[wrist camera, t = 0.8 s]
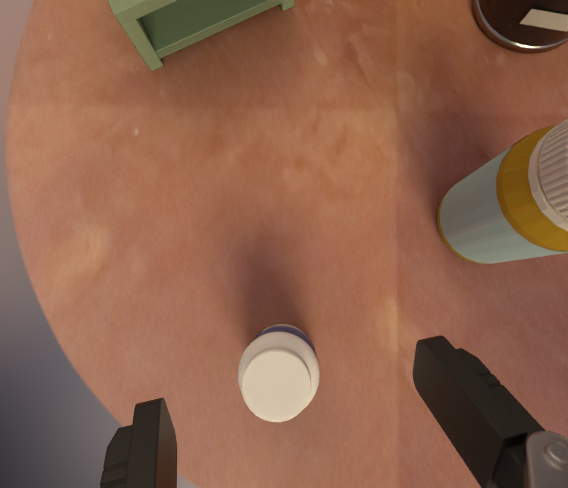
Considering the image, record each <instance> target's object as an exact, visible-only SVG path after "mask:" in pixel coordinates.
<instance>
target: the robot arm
mask: <svg viewBox="0 0 568 488" xmlns="http://www.w3.org/2000/svg"><path fill="white" fill-rule="evenodd" d="M472 4H473V11H474V15H475V18H476V20H477V22H478V24H479V26H480V27H481V29H482V30H483V31H484V33H485V34H486V35H487V36H488V37H489V38H490V39H491V40H493V41H494V42H495V43H497V44H499V45H500V46H502V47H504V48H506V49H509V50H512V51H515V52H520V53H542V52H546V51H550V50H552V49H555V48H557V47H559V46H561V45H562V44H564V43H565V42H566V41H568V0H472ZM413 381H414V384H415V387H416V389H417V391H418V393H419V395H420V396H421V398H422V399H423V401H424V402H425V404H426V405H427V407H428V408H429V410H430V411H431V413H432V414H433V416H434V417H435V419H436V420H437V422H438V423H439V425H440V426H441V428H442V429H443V431H444V432H445V434H446V435H447V437H448V438H449V440H450V441H451V443H452V444H453V446H454V447H455V449H456V450H457V452H458V453H459V455H460V456H461V458H462V459H463V461H464V462H465V464H466V465H467V467H468V468H469V470H470V471H471V473H472V474H473V476H474V477H475V479H476V480H477V482H478V483H479V485H480V486H481V488H568V438H566V437H564V436H562V435H560V434H557V433H554V432H549V431H546V430H545V429H544V428H542V427H541V426H540V425H539V423H538V422H537V421H536V420H535V419H534V418H533V417H532V416H531V415H530V414H529V413H528V412H527V411H526V409H525V408H524V407H523V406H522V405H521V404H520V403H519V402H518V401H517V400H516V399H515V398H514V397H513V395H512V394H511V393H510V392H509V391H508V390H507V389H506V388H505V387H504V386H503V385H501V384H500V381H499V380H498V379H497V378H496V377H495V376H494V375H493V374H491V373H490V371H489V370H488V368H487V367H486V366H485V365H484V364H483V363H482V362H481V361H480V360H479V359H478V358H477V357H475V356H474V355H472V354H470V353H469V352H467V351H465V350H464V349H462V348H460V349H455V348H454V347H453V346H452V345H451V344H450V343H449V341H448V340H447V339H446V338H445V337H443V336H435V337H431V338H426V339H422V340H419V341H418V342H417V344H416V351H415V359H414V367H413ZM100 485H101V487H100V488H177V487H176V486H177V442H176V435H175V430H174V427H173V424H172V421H171V418H170V415H169V412H168V409H167V406H166V402H165V400H164V398H159V399H155V400H151V401H146V402H142V403H137V404H136V406H135V410H134V417H133V424H132V425H130V426H126V427H122V428H118V430H117V432H116V433H115V435H114V437H113V438H112V440H111V442H110V443H109V445H108V447H107V451H106V457H105V462H104V471H103V472H102V477H101V483H100Z"/></svg>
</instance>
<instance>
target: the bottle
mask: <svg viewBox="0 0 568 488" xmlns="http://www.w3.org/2000/svg"><path fill="white" fill-rule="evenodd" d="M437 224H438V228H439V231H440V234H441V237H442V239H443V241H444V242H445V243H446V245H447V246H448V247H449V249H450V250H451V251H452V252H454V253H455V254H456V255H458V256H459V257H461V258H463V259H465V260H468V261H470V262H473V263H481V264H492V263H500V262H507V261H513V260H520V259H527V258H534V257H541V256H548V255H554V254H561V253H568V119H566V120H565V121H563V123H561V124H559V125H556V126H551V127H547V128H543V129H540V130H537V131H535V132H533V133H531V134H530V135H528V136H526V137H524V138H523V139H521V140H520V141H518V142H517V143H515V144H514V145H512V146H511V147H509V148H508V149H507V150H505V151H504V152H502V153H501V154H499V155H498V156H496V157H495V158H493V159H492V160H490V161H489V162H487V163H486V164H485V165H483V166H482V167H480V168H479V169H477V170H476V171H474V172H473V173H471V174H470V175H468V176H467V177H465V178H464V179H462V180H461V181H460V182H458V183H457V184H455V185H454V186H453V187H451V188H450V189H449V190H448V191H447V193H446V194H445V195H444V197H443V198H442V200H441V202H440V205H439V208H438V213H437Z"/></svg>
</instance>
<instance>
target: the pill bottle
mask: <svg viewBox="0 0 568 488" xmlns="http://www.w3.org/2000/svg"><path fill="white" fill-rule="evenodd" d="M319 376H320V372H319V365H318V360H317V357H316V353H315V349H314V346H313V344H312V342H311V340H310V339H309V337H308V336H307V335H306V334H305V333H304V332H303V331H302V330H300V329H299V328H297V327H294V326H292V325H287V324H277V325H272V326H270V327H267V328H266V329H264V330H263V331H261V332H260V333H259V334H258V335H257V336H256V337H255V338H254V340H253V341H252V342H251V343H250V344H249V345H248V347H247V348H246V349H245V351H244V353H243V355H242V357H241V360H240V363H239V368H238V383H239V387H240V390H241V392H242V395H243V398H244V400H245V403H246V405H247V406H248V407H249V409H250V410H251V411H252V412H253V413H254V414H255V415H256V416H258V417H260V418H261V419H263V420H266V421H270V422H283V421H287V420H289V419H291V418H293V417H295V416H297V415H298V414H299V413H300V412H301V411H302V410H303V409H304V408H305V407H306V406H307V405H308V404H309V403H310V402H311V400H312V399H313V397H314V395H315V393H316V391H317V388H318V384H319Z"/></svg>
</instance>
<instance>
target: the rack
mask: <svg viewBox="0 0 568 488" xmlns="http://www.w3.org/2000/svg"><path fill="white" fill-rule="evenodd" d="M107 1H108V3H109V5H110V7H111V10H112V12H113V14H114V16H115V17H116V19H117V20H118V22H119V23H120V25H121V26H122V28H123V29H124V31H125V32H126V34H127V35H128V37H129V38H130V40H131V41H132V43H133V44H134V46H135V47H136V49H137V51H138V52H139V54H140V55H141V57H142V58H143V60H144V61H145V63H146V64H147V66H148V67H149V69H150V70H151V71H154V70H156V69H158V68H160V67H162V66H163V63H162V61H161V58H163V57H165V56H167V55H169V54H172V53H174V52H176V51H178V50H180V49H183V48H185V47H187V46H189V45H191V44H194V43H196V42H198V41H200V40H202V39H204V38H207V37H209V36H211V35H213V34H215V33H218V32H220V31H222V30H224V29H226V28H228V27H231V26H233V25H235V24H237V23H239V22H242V21H244V20H246V19H248V18H250V17H253V16H255V15H257V14H259V13H261V12H263V11H266V10H268V9H270V8H272V7H274V6H277V5H280V7H281V9H282V11H285V10H287V9H289V8H291V7H293V6H294V0H107Z"/></svg>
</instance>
